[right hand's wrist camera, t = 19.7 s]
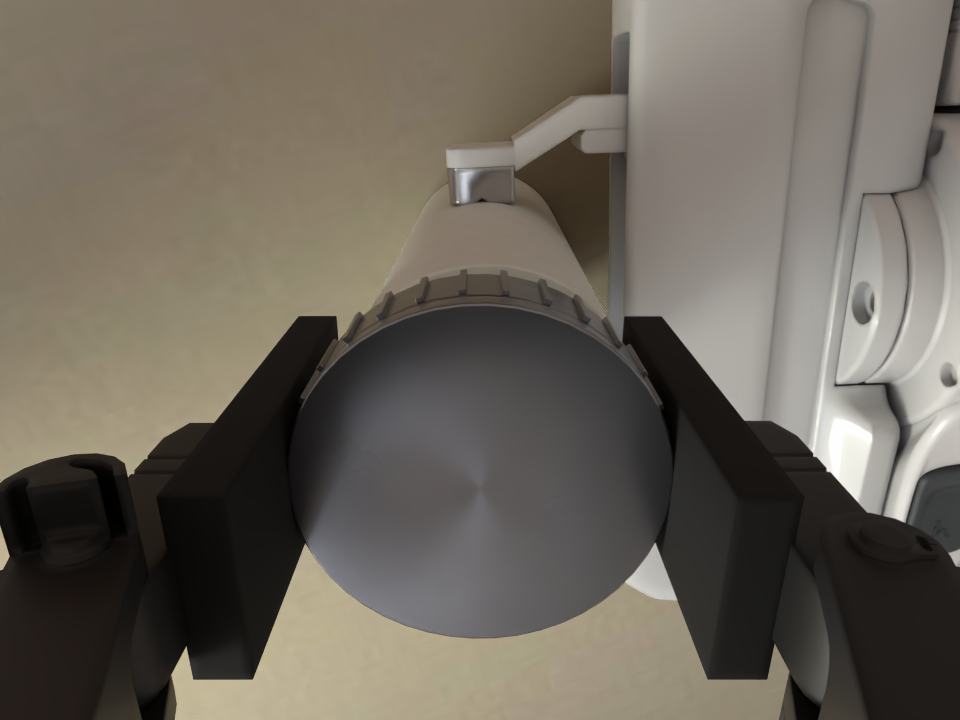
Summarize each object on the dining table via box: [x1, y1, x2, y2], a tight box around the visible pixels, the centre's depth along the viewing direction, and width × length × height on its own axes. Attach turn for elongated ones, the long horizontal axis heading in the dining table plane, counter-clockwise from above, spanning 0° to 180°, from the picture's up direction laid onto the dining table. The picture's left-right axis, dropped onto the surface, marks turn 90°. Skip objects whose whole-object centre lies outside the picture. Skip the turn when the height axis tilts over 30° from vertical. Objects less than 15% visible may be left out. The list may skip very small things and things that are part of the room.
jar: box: [371, 178, 608, 319], centre depth 19 cm, size 6×6×15 cm
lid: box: [287, 269, 674, 638], centre depth 11 cm, size 6×6×2 cm
